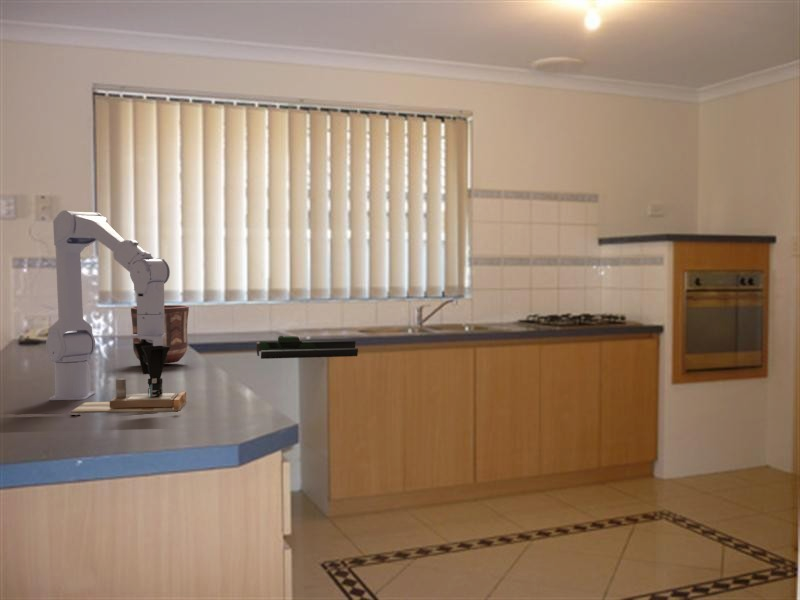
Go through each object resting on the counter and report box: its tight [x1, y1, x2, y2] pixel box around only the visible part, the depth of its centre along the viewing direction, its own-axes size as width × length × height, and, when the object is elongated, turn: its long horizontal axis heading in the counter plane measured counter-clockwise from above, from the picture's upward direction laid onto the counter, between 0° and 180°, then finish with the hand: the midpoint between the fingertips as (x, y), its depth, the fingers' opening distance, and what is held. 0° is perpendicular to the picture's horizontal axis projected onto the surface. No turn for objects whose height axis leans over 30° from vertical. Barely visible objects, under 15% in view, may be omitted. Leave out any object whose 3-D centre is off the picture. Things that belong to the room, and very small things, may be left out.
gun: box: [256, 335, 362, 360], centre depth 268 cm, size 6×35×8 cm, turn 103°
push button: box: [142, 354, 168, 397], centre depth 172 cm, size 7×5×10 cm
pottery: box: [130, 304, 190, 365], centre depth 256 cm, size 18×18×18 cm
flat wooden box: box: [70, 391, 187, 414], centre depth 172 cm, size 11×22×3 cm, turn 97°
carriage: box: [109, 378, 179, 408], centre depth 172 cm, size 8×13×6 cm, turn 97°
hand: (151, 376), depth 172 cm, fingers open, 7 cm apart
